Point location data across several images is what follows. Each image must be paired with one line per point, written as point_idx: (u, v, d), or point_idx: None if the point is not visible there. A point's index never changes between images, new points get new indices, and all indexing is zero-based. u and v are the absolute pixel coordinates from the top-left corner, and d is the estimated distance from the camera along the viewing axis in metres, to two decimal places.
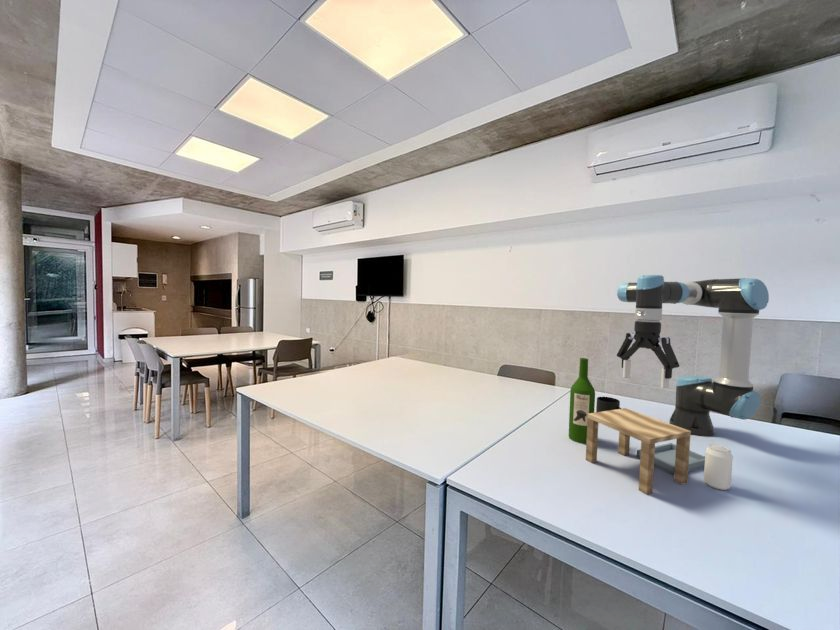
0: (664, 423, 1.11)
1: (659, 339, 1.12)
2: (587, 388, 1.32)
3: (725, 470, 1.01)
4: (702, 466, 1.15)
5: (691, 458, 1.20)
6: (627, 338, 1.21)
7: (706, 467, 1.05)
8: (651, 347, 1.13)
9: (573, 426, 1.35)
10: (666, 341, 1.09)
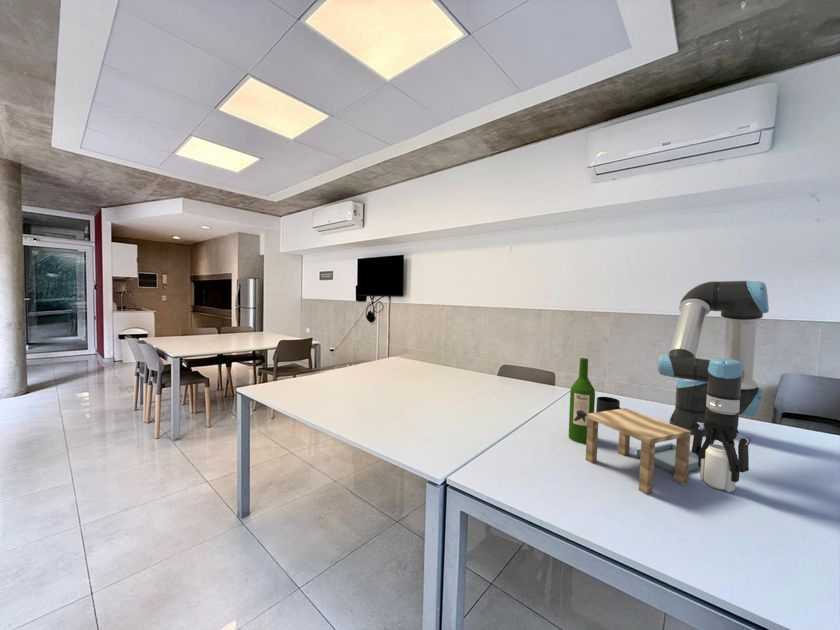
0: (664, 423, 1.11)
1: (737, 436, 0.99)
2: (587, 388, 1.32)
3: (725, 470, 1.01)
4: None
5: (691, 458, 1.20)
6: (697, 429, 1.08)
7: (706, 467, 1.05)
8: (724, 443, 1.01)
9: (573, 426, 1.35)
10: (745, 443, 0.97)
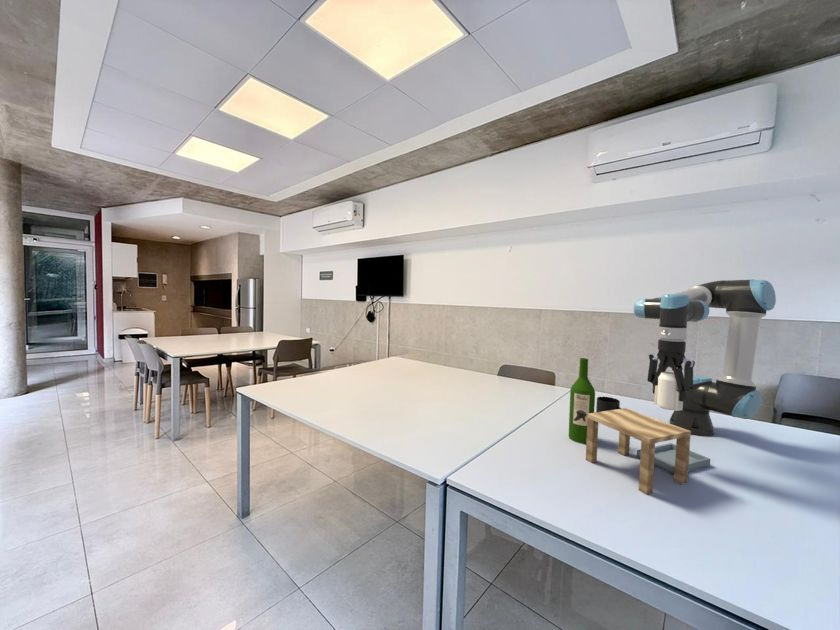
0: (664, 423, 1.11)
1: (684, 360, 1.11)
2: (587, 388, 1.32)
3: (673, 392, 1.13)
4: (702, 466, 1.15)
5: (691, 458, 1.20)
6: (651, 359, 1.20)
7: (658, 391, 1.17)
8: (673, 367, 1.13)
9: (573, 426, 1.35)
10: (690, 365, 1.09)
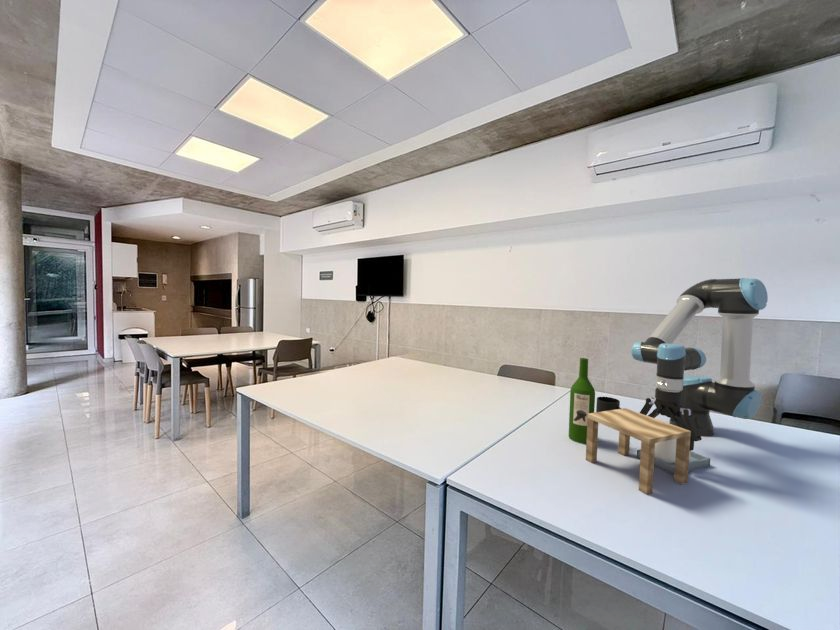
0: (664, 423, 1.11)
1: (681, 410, 1.12)
2: (587, 388, 1.32)
3: (670, 446, 1.15)
4: (702, 466, 1.15)
5: (691, 458, 1.20)
6: (647, 403, 1.22)
7: (655, 444, 1.18)
8: (673, 417, 1.14)
9: (573, 426, 1.35)
10: (688, 413, 1.10)
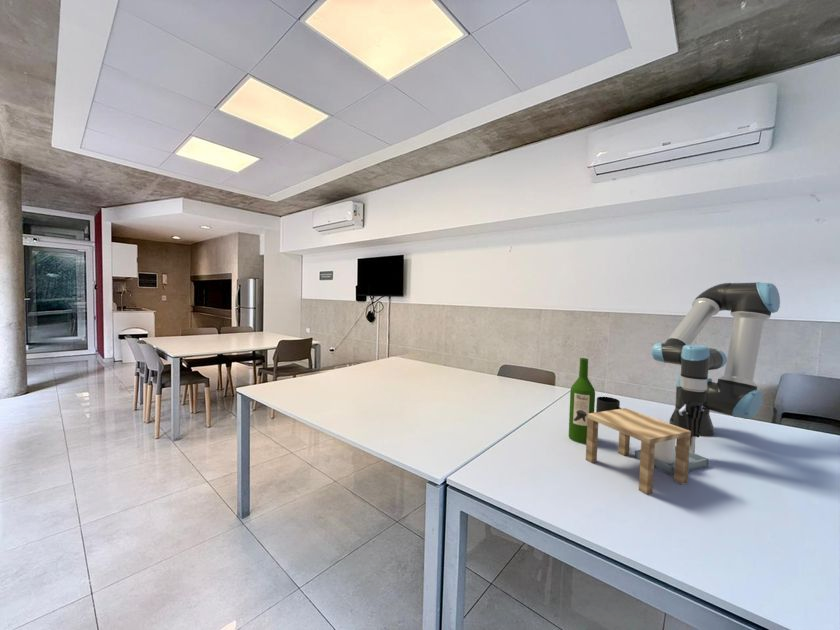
0: (664, 423, 1.11)
1: None
2: (587, 388, 1.32)
3: (668, 447, 1.14)
4: (700, 466, 1.15)
5: (690, 458, 1.20)
6: None
7: None
8: None
9: (573, 426, 1.35)
10: (679, 413, 1.20)
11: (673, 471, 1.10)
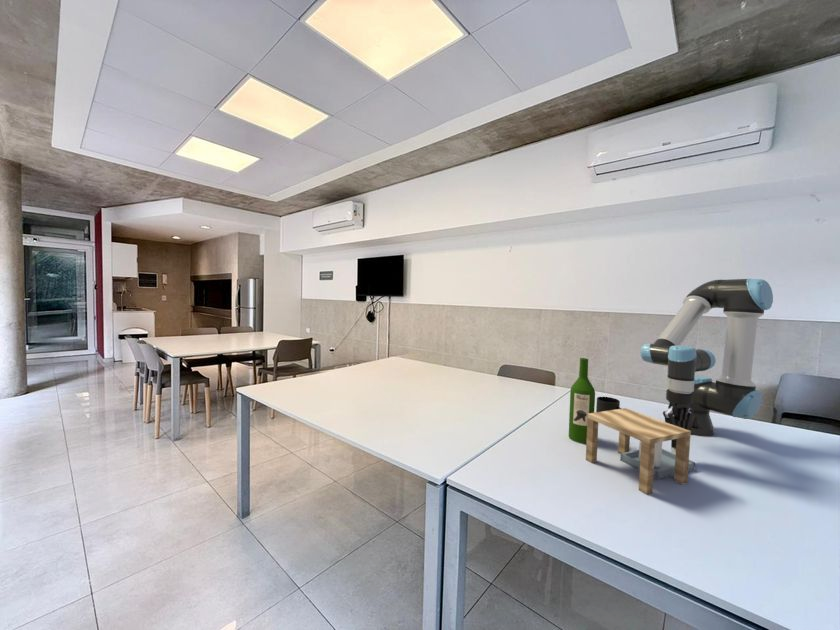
0: (664, 423, 1.11)
1: None
2: (587, 388, 1.32)
3: (655, 450, 1.12)
4: None
5: None
6: None
7: (640, 447, 1.16)
8: None
9: (573, 426, 1.35)
10: (665, 416, 1.17)
11: (658, 475, 1.08)
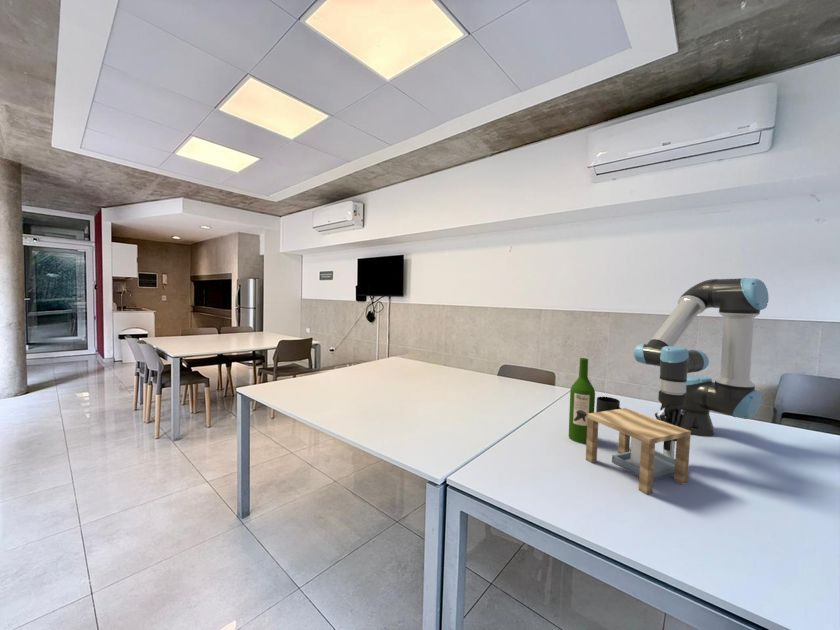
0: (664, 423, 1.11)
1: None
2: (587, 388, 1.32)
3: None
4: None
5: (668, 463, 1.16)
6: None
7: (631, 449, 1.14)
8: None
9: (573, 426, 1.35)
10: (657, 417, 1.16)
11: None
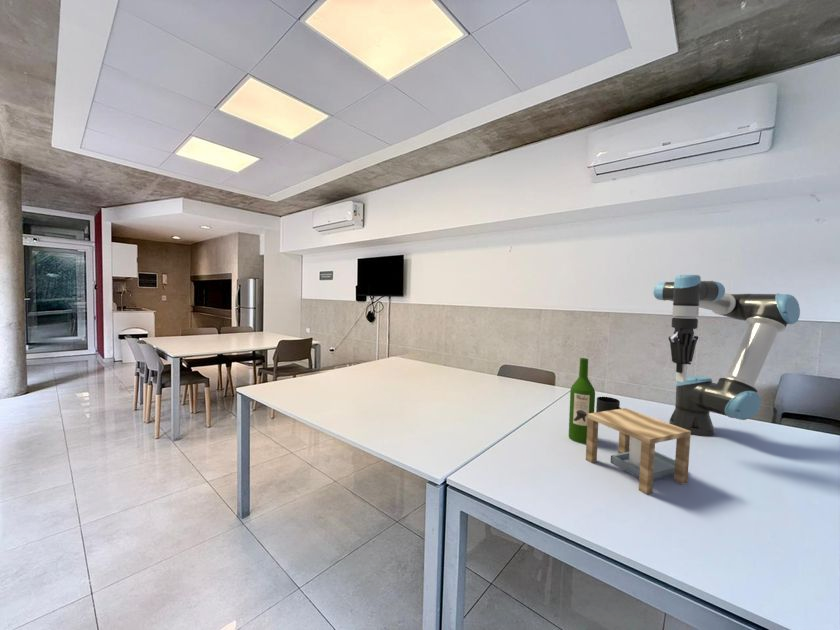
0: (664, 423, 1.11)
1: None
2: (587, 388, 1.32)
3: None
4: None
5: (667, 463, 1.16)
6: None
7: (630, 449, 1.14)
8: None
9: (573, 426, 1.35)
10: (671, 340, 1.23)
11: None
